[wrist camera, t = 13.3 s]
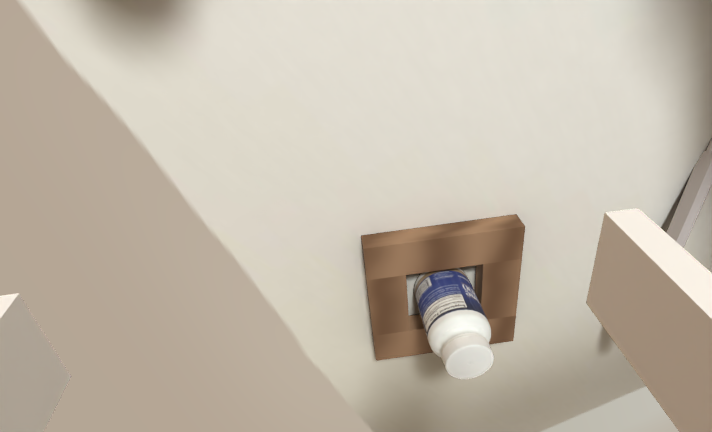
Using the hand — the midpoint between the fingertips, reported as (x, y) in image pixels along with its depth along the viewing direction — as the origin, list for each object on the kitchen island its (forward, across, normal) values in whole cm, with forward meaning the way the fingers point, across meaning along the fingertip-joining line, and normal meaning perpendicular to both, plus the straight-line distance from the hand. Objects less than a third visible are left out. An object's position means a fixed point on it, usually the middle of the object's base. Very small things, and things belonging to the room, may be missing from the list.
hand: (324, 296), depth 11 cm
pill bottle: (+27, +9, -24) cm, 37 cm away
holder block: (+27, +9, -24) cm, 37 cm away
